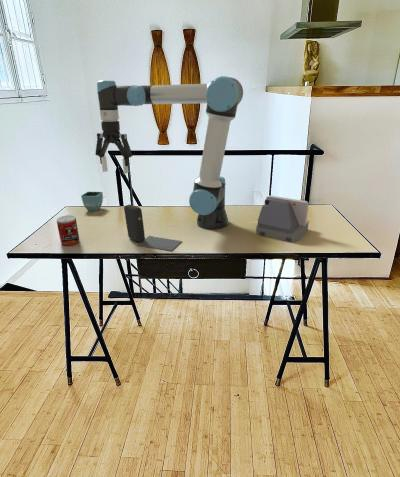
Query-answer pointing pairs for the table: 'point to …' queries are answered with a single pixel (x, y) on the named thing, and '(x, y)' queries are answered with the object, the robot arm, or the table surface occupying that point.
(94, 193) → the flower pot
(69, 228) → the canned food
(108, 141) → the robot arm
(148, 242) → the mat
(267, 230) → the grey tapered box
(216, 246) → the table surface
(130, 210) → the card reader
